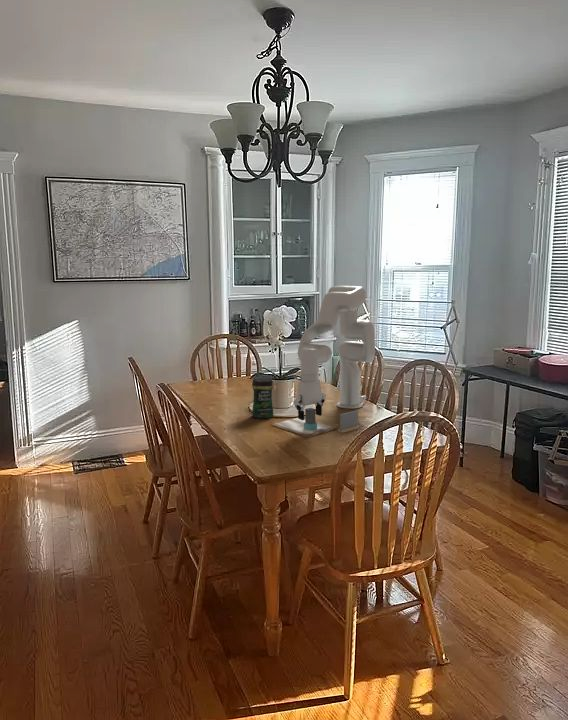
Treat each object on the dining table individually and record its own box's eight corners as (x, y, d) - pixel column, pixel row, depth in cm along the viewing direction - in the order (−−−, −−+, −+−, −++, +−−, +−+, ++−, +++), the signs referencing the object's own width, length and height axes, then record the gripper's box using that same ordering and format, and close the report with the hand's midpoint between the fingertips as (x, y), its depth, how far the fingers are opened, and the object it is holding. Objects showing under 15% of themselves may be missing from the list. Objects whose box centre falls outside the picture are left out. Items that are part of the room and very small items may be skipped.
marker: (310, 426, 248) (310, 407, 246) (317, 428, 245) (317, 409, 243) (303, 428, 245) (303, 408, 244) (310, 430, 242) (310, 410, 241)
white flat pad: (301, 418, 264) (301, 414, 264) (337, 429, 246) (337, 425, 246) (271, 425, 253) (271, 421, 253) (306, 437, 236) (306, 433, 235)
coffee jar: (253, 419, 262) (252, 379, 259) (251, 414, 270) (250, 375, 267) (274, 418, 264) (274, 378, 260) (272, 413, 272) (271, 374, 268)
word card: (354, 426, 250) (354, 409, 249) (359, 428, 248) (359, 410, 246) (337, 431, 244) (337, 413, 242) (342, 432, 241) (343, 415, 240)
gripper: (319, 372, 249) (319, 411, 253) (287, 379, 239) (288, 419, 242) (331, 375, 244) (331, 415, 247) (299, 382, 233) (300, 423, 236)
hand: (310, 417), depth 244 cm, fingers open, 9 cm apart
